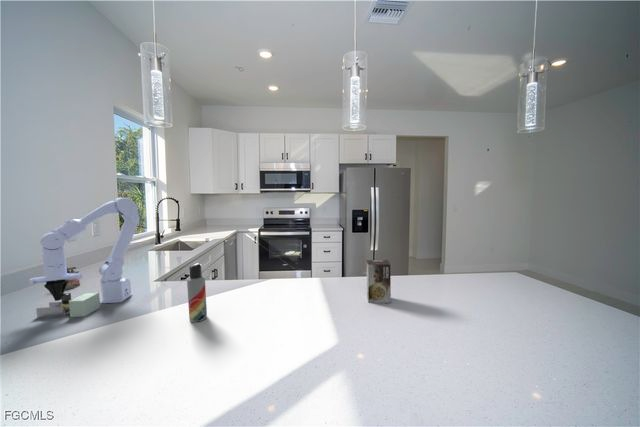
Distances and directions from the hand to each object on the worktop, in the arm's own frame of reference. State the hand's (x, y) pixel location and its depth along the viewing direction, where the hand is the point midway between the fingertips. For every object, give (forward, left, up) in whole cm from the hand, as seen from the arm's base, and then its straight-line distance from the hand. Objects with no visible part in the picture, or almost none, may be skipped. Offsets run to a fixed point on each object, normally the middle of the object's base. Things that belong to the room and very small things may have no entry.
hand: (58, 299), depth 95 cm
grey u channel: (+1, 0, -5) cm, 5 cm away
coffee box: (-123, +4, -6) cm, 124 cm away
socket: (-9, 0, -5) cm, 10 cm away
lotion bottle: (-54, +11, -6) cm, 56 cm away
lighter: (+21, -29, -6) cm, 36 cm away
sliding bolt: (-6, 0, -4) cm, 7 cm away
